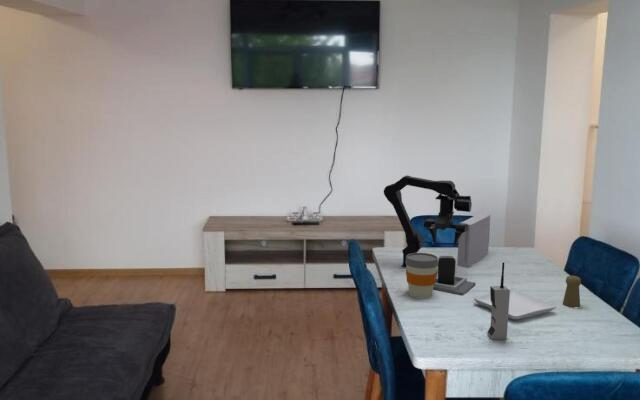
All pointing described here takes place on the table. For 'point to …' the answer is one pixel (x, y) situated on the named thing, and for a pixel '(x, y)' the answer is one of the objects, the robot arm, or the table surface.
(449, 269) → the battery charger
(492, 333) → the vintage mobile phone
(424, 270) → the reusable coffee cup
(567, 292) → the cork
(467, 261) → the game console
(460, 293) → the charging dock
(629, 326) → the table surface
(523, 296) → the salad plate
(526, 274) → the table surface
